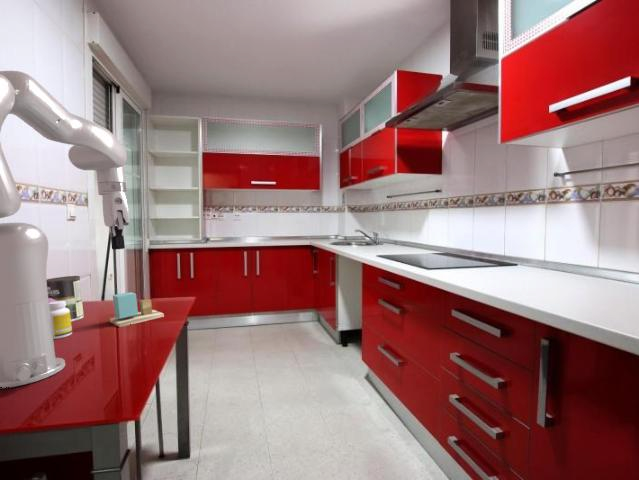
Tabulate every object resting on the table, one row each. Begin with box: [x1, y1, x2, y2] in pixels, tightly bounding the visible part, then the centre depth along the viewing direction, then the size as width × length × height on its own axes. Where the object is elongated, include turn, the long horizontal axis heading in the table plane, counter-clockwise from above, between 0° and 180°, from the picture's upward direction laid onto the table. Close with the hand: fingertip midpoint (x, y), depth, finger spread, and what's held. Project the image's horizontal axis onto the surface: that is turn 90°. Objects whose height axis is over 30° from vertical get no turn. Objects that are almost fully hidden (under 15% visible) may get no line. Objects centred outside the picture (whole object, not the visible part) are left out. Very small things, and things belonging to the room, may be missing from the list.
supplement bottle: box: [49, 301, 73, 340], centre depth 101 cm, size 5×5×10 cm
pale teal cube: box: [112, 291, 139, 318], centre depth 112 cm, size 5×5×7 cm
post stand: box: [109, 298, 165, 328], centre depth 114 cm, size 10×13×8 cm
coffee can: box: [46, 275, 85, 323], centre depth 120 cm, size 10×10×14 cm
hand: (118, 248), depth 111 cm, fingers closed
